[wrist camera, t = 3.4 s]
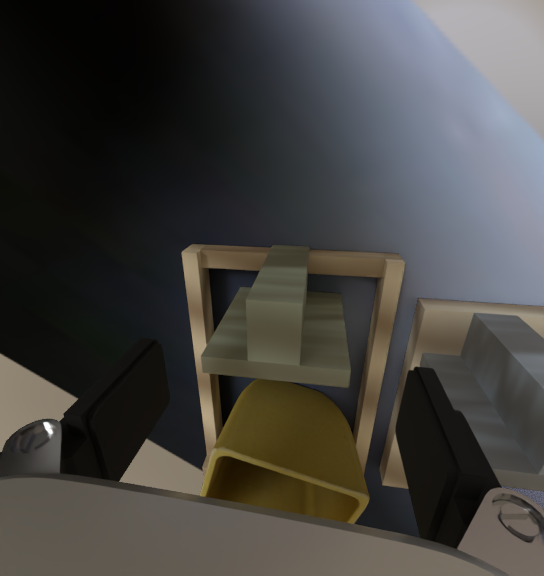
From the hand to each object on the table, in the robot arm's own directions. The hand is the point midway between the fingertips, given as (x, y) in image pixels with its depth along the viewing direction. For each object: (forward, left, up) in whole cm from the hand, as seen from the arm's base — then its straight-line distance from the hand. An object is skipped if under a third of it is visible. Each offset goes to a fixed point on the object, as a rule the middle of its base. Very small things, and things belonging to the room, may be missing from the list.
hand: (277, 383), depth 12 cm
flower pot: (+11, 0, -11) cm, 16 cm away
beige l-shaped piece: (+9, +12, -10) cm, 18 cm away
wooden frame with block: (+8, 0, -10) cm, 13 cm away
